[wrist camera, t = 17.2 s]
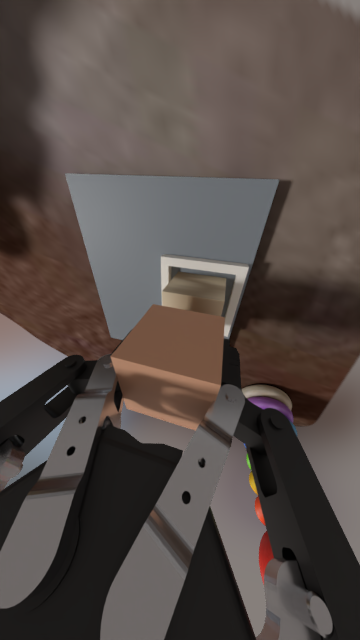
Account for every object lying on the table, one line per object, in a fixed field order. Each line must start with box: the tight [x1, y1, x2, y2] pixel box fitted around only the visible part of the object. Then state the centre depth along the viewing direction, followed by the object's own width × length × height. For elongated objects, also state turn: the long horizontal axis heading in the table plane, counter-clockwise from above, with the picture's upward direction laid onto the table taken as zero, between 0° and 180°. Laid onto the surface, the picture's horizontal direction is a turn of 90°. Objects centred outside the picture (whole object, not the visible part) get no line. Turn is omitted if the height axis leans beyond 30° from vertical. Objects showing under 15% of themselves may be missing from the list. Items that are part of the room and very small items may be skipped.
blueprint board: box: [65, 174, 279, 340], centre depth 19 cm, size 18×20×2 cm
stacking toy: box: [242, 385, 297, 583], centre depth 19 cm, size 8×8×19 cm
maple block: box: [162, 272, 226, 316], centre depth 16 cm, size 5×5×5 cm
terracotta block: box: [110, 304, 225, 431], centre depth 10 cm, size 5×5×5 cm
